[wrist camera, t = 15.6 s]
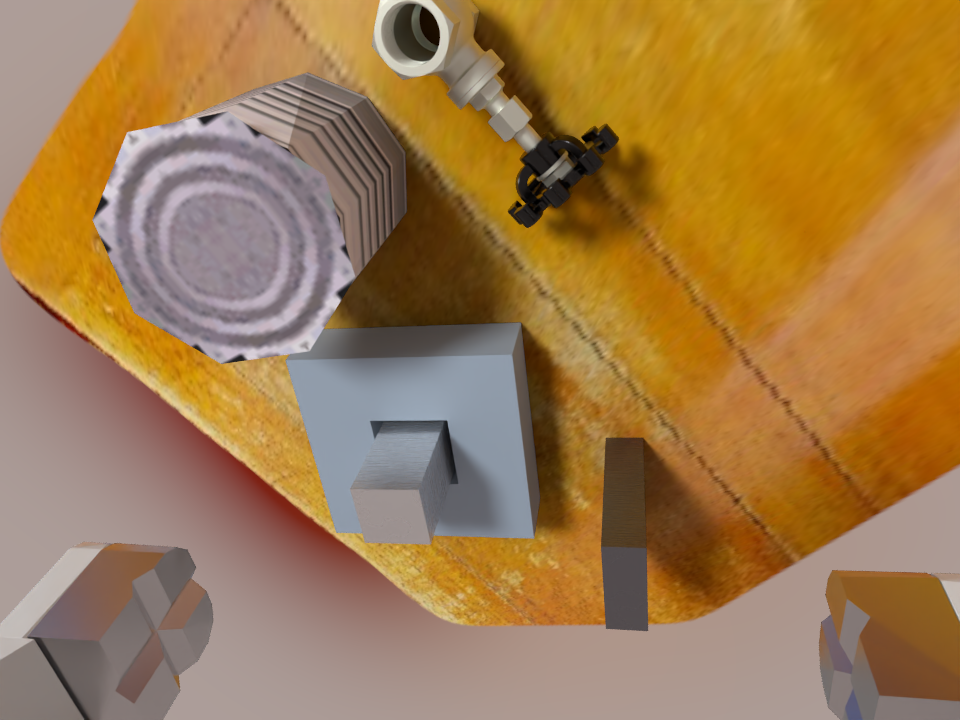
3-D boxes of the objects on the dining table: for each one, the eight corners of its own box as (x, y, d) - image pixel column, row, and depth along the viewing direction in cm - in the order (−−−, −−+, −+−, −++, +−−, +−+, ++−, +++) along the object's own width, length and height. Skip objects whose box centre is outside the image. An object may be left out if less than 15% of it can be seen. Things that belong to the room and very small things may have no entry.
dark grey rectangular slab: (643, 437, 47) (646, 548, 39) (644, 513, 50) (648, 631, 42) (605, 437, 48) (601, 546, 39) (609, 512, 51) (605, 628, 42)
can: (190, 101, 41) (47, 157, 31) (371, 44, 38) (277, 86, 28) (272, 282, 46) (172, 381, 36) (437, 245, 43) (379, 343, 33)
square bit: (455, 391, 48) (418, 489, 40) (464, 440, 50) (430, 544, 41) (398, 392, 49) (350, 489, 40) (408, 440, 51) (365, 542, 42)
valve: (373, 35, 38) (527, 204, 41) (328, 53, 32) (511, 247, 35) (460, -67, 35) (620, 123, 38) (428, -67, 29) (619, 157, 32)
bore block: (520, 322, 45) (512, 354, 41) (540, 498, 51) (534, 538, 48) (309, 329, 48) (285, 360, 44) (354, 495, 54) (336, 532, 51)
